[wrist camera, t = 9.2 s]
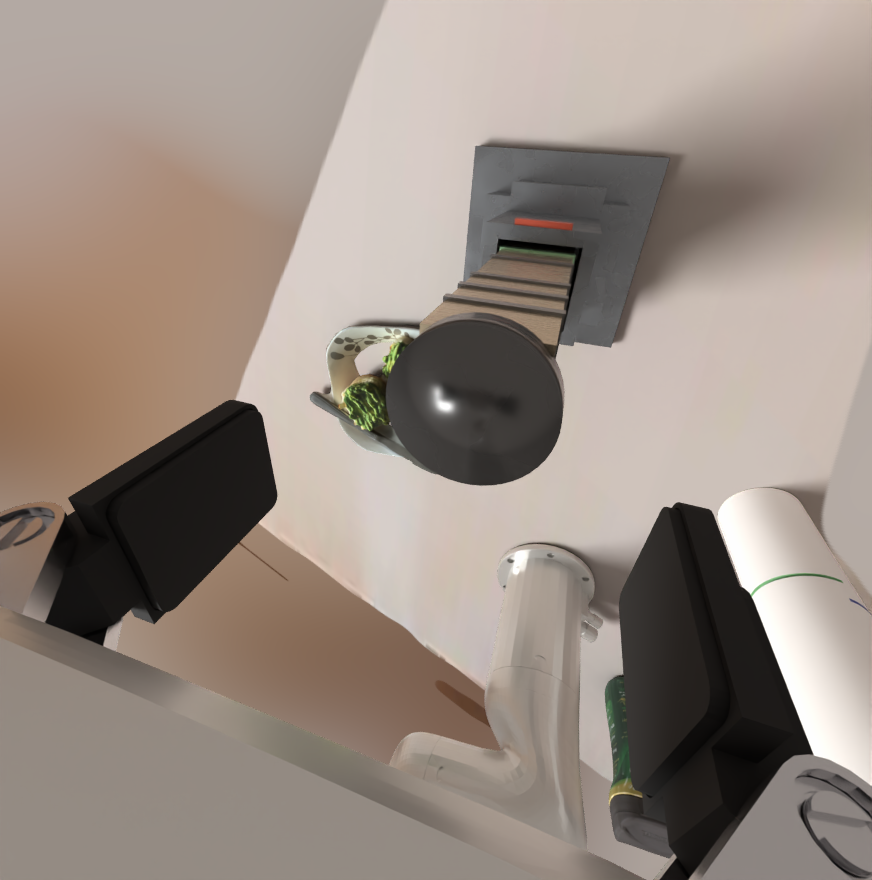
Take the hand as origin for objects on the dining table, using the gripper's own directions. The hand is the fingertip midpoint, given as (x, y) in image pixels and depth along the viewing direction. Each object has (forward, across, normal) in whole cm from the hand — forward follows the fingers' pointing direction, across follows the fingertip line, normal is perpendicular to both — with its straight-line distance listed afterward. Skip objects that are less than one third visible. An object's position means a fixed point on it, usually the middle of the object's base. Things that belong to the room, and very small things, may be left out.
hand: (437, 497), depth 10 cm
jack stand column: (+25, 0, -1) cm, 25 cm away
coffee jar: (+34, -26, +58) cm, 72 cm away
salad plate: (+33, +13, +16) cm, 39 cm away
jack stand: (+32, 0, -1) cm, 32 cm away
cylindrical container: (+33, -26, +21) cm, 47 cm away
